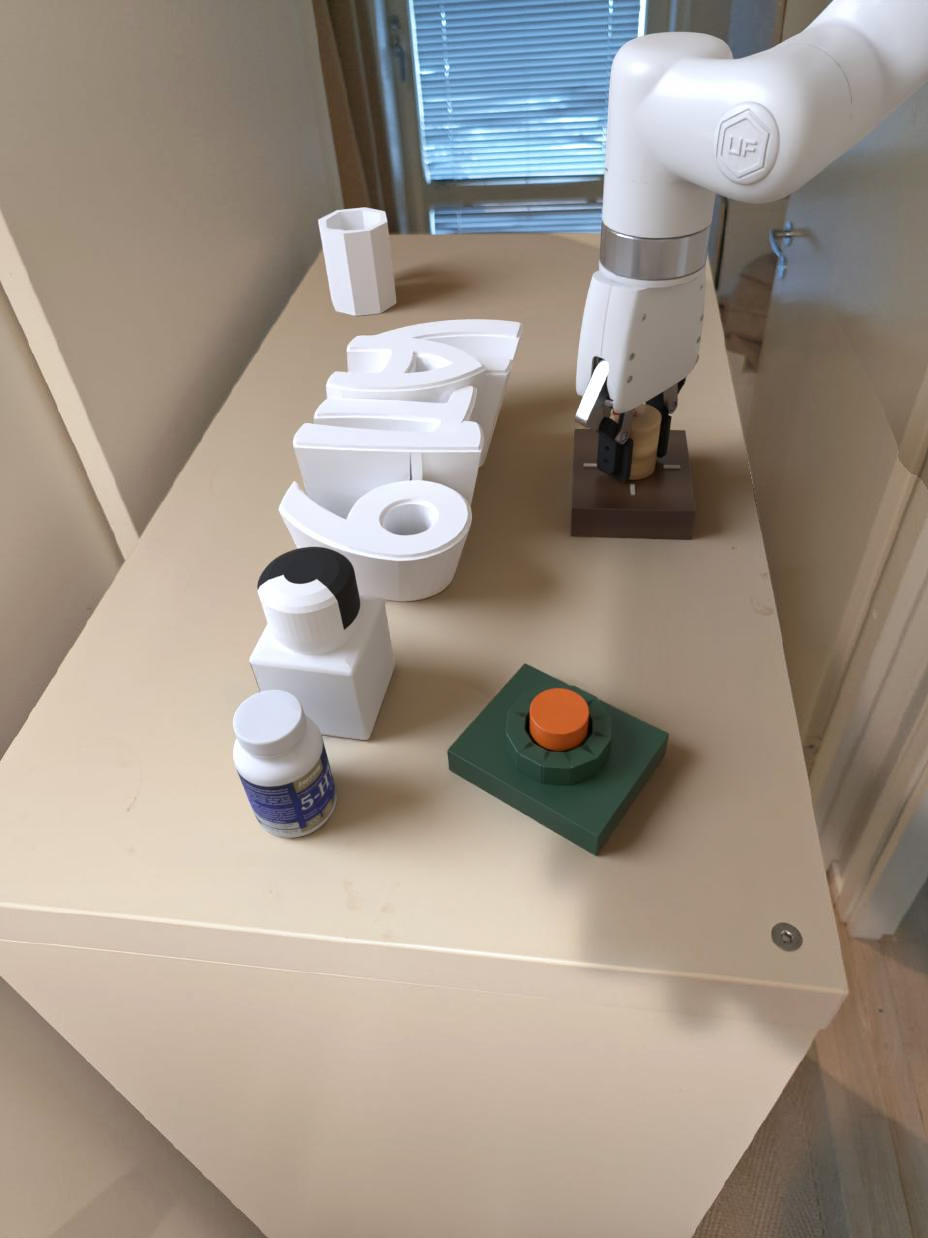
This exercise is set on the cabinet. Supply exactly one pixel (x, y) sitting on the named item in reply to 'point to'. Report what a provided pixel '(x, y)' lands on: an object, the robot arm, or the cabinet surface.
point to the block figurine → (324, 641)
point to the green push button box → (559, 761)
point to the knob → (643, 440)
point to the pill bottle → (283, 764)
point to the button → (559, 719)
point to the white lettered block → (402, 452)
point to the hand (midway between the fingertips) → (631, 460)
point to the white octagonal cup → (358, 260)
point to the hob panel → (632, 494)
